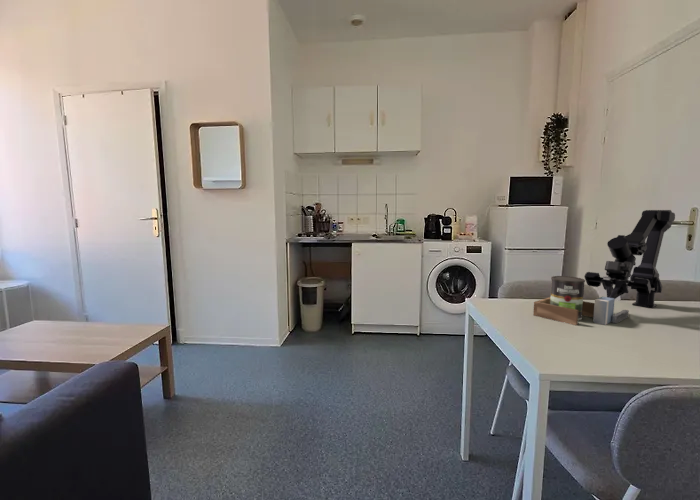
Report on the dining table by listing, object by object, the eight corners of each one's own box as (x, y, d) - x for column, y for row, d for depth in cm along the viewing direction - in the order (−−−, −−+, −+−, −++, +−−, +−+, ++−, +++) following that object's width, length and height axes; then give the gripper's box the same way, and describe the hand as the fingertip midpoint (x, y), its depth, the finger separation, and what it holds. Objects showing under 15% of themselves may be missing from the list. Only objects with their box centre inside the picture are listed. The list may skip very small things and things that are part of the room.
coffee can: (583, 322, 122) (586, 282, 120) (549, 318, 126) (551, 279, 125) (580, 314, 131) (583, 277, 129) (548, 311, 135) (550, 274, 134)
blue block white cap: (601, 318, 126) (602, 296, 125) (612, 321, 123) (614, 298, 122) (593, 322, 122) (594, 299, 121) (605, 325, 119) (607, 301, 118)
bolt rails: (606, 312, 133) (606, 306, 132) (628, 317, 127) (628, 310, 127) (593, 318, 126) (593, 311, 125) (615, 323, 120) (616, 316, 120)
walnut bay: (553, 308, 139) (553, 295, 139) (594, 316, 128) (595, 303, 127) (533, 315, 130) (534, 302, 130) (575, 325, 119) (576, 310, 118)
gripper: (588, 250, 133) (573, 283, 127) (651, 255, 118) (637, 292, 112) (594, 269, 138) (581, 301, 133) (656, 276, 123) (643, 312, 118)
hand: (608, 301), depth 124 cm, fingers closed, pressing on blue block white cap
